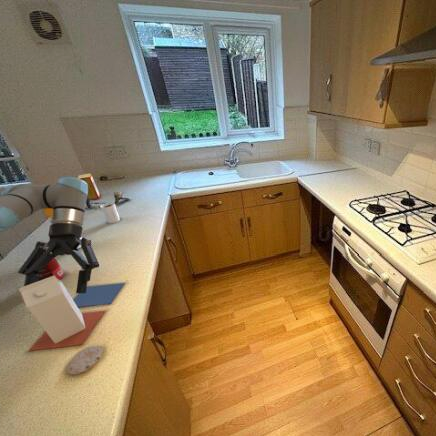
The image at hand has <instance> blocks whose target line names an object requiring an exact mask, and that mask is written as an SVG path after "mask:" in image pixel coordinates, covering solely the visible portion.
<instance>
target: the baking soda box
mask: <svg viewBox="0 0 436 436" xmlns="http://www.w3.org/2000/svg"><path fill="white" fill-rule="evenodd" d="M77 178H78V179H81V180H83V181H85V182H86V183H87V184H88V196H87V198H91V200H92V201H94V200H100V198H101V197H100V196H101V193H100V191H99V189H98V186H97V184H96V181H95V178H94V176H93V174H92V173H84V174H79V175H78V177H77Z"/></svg>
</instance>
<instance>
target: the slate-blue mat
mask: <svg viewBox="0 0 436 436" xmlns="http://www.w3.org/2000/svg"><path fill="white" fill-rule="evenodd" d="M125 284H126V283H125V282H119V283H108V284H100V285H90V286H88V285H87V289H86V293H77V295H76V296H75V297H74V298H73V301H74V302H75V304H76V306H77V307H78V309H79V308H88V307H97V306H106V305H112V303H113V302H114V300H115V299H116V297H117V296H118V295H119V293H120V291H121V290H122V288H124V286H125Z"/></svg>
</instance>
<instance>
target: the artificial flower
mask: <svg viewBox="0 0 436 436" xmlns="http://www.w3.org/2000/svg"><path fill="white" fill-rule="evenodd" d="M113 197H114V200H115V201H114V203H115V205H117V204H118V203H120V200H121V201H124V200H125V201H129V200H130V198H128V197H126V196H125V197H123V192H122V191H120V190H118V191H115V192H113ZM92 204H93V205H99V204H100V202H93V200H91V198H87V201H86V208H87V209H92V206H93V205H92ZM103 204H105V202H101V205H103Z"/></svg>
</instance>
